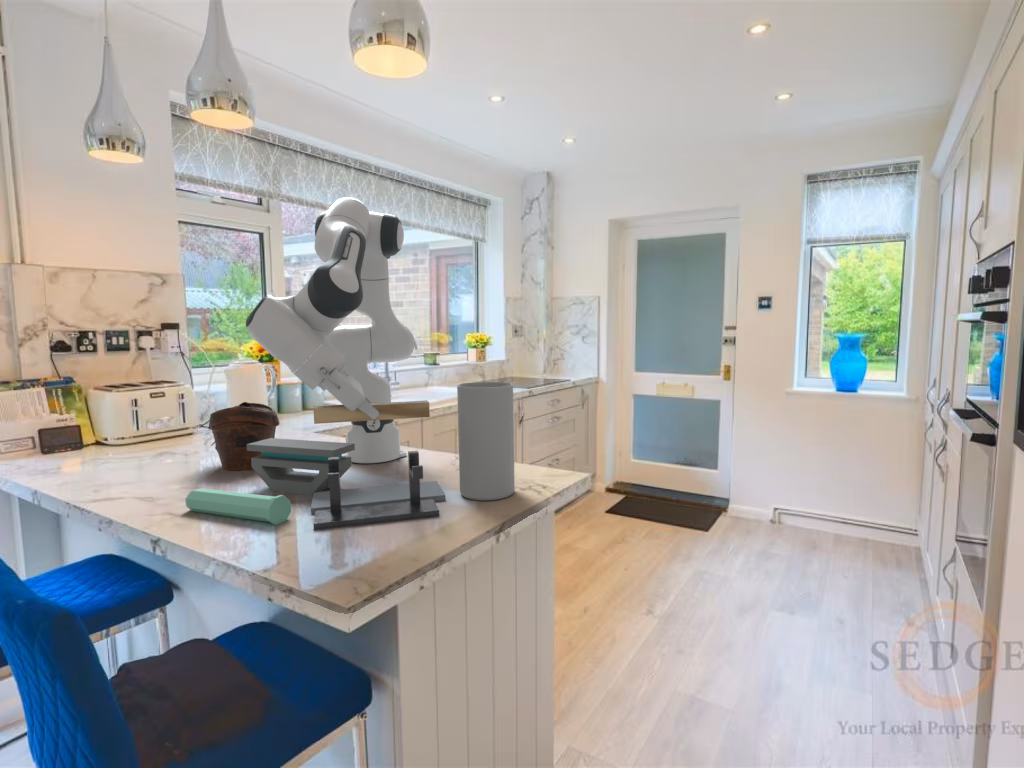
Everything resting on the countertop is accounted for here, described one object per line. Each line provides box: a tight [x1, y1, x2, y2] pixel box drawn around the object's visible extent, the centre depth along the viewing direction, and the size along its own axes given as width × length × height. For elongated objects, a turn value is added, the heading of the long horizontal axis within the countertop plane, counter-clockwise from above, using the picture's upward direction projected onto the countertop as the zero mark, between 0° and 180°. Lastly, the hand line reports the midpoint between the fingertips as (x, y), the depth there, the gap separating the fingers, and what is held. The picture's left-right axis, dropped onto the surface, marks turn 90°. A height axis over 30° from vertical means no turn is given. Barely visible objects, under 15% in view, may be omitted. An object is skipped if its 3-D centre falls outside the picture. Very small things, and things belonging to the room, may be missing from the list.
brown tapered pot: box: [208, 401, 280, 471], centre depth 160 cm, size 18×20×18 cm
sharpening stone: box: [247, 438, 355, 496], centre depth 135 cm, size 25×8×11 cm, turn 70°
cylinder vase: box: [456, 381, 516, 502], centre depth 128 cm, size 12×12×25 cm
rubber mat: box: [310, 480, 446, 515], centre depth 126 cm, size 12×28×1 cm, turn 107°
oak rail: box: [313, 399, 431, 425], centre depth 112 cm, size 3×22×3 cm, turn 106°
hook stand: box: [313, 450, 440, 531], centre depth 114 cm, size 8×24×12 cm, turn 107°
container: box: [184, 487, 292, 526], centre depth 116 cm, size 6×6×25 cm
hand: (376, 414), depth 112 cm, fingers closed on oak rail, 3 cm apart
